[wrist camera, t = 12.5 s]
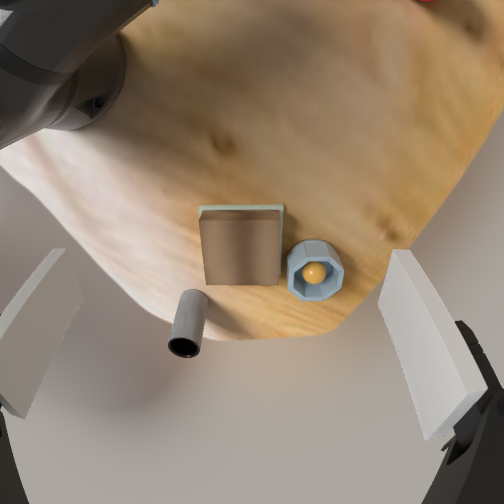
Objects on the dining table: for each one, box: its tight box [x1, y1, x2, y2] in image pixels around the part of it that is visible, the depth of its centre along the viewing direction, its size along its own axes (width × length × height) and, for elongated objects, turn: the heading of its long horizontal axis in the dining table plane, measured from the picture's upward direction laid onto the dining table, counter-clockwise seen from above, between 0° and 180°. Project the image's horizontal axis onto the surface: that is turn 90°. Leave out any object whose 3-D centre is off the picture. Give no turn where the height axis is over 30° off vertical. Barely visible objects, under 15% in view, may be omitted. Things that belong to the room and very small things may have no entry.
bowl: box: [286, 239, 344, 301], centre depth 44 cm, size 8×8×4 cm
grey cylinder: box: [168, 290, 208, 358], centre depth 46 cm, size 4×4×10 cm
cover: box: [199, 210, 281, 285], centre depth 43 cm, size 10×10×3 cm
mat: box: [199, 204, 283, 275], centre depth 44 cm, size 11×11×1 cm
